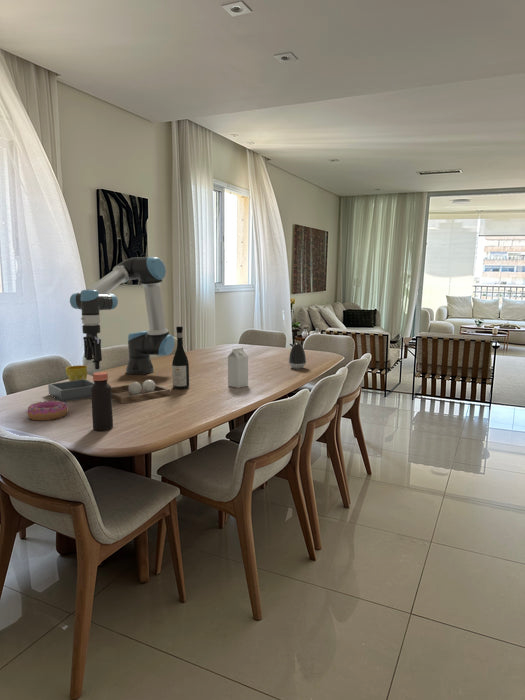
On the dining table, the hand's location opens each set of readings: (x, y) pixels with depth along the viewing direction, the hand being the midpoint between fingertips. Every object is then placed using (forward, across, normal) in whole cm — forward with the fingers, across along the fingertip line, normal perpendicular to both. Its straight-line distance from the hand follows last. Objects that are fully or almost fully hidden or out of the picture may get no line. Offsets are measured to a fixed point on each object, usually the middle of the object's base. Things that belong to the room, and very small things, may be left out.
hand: (93, 374), depth 215 cm
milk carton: (+10, +30, +60) cm, 68 cm away
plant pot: (+10, -23, +1) cm, 25 cm away
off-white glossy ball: (0, 0, 0) cm, 0 cm away
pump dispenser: (+10, +17, +116) cm, 118 cm away
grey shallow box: (+9, -6, -7) cm, 13 cm away
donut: (+10, +20, -27) cm, 35 cm away
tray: (+9, +12, +14) cm, 21 cm away
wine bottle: (+10, +14, +38) cm, 41 cm away
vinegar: (+10, +49, -18) cm, 54 cm away
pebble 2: (+9, +12, +14) cm, 21 cm away
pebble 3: (+9, +12, +21) cm, 26 cm away
